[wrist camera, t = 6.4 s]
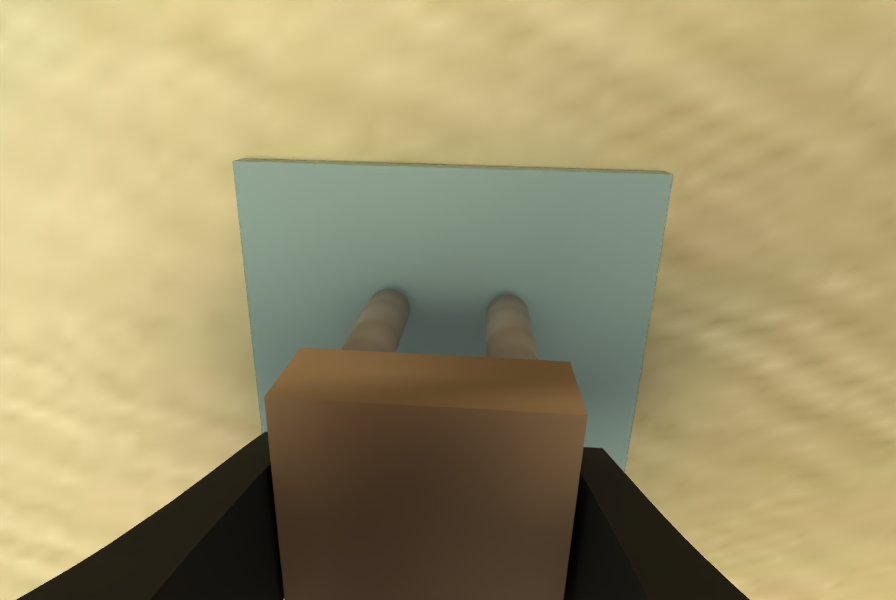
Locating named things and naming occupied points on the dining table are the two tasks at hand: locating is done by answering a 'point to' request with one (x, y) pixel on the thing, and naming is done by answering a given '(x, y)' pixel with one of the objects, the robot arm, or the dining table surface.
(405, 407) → the brown block with pegs
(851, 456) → the dining table surface
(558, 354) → the board
